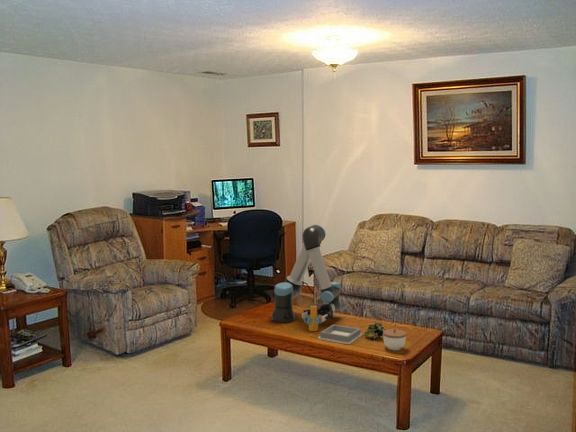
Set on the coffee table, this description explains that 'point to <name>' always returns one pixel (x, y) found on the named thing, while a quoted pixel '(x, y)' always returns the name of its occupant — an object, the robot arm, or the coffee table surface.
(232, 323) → the coffee table surface
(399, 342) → the lidded bowl
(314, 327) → the orange tube
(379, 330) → the passion flower
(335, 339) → the holder tray
